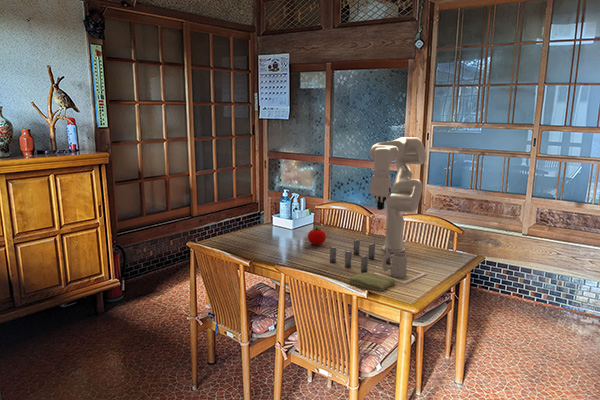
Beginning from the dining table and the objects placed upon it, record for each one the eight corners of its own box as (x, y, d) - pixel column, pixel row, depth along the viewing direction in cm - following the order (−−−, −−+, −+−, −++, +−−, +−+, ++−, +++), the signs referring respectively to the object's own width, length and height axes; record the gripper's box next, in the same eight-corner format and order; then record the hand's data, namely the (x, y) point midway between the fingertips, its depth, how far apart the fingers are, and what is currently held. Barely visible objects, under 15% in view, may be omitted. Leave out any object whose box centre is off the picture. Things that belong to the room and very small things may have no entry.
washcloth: (363, 275, 217) (363, 269, 216) (396, 285, 205) (397, 278, 205) (347, 283, 207) (347, 276, 206) (381, 293, 196) (381, 286, 195)
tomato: (322, 248, 258) (323, 230, 256) (305, 246, 262) (305, 229, 260) (327, 243, 268) (328, 226, 266) (310, 241, 271) (311, 224, 269)
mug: (406, 278, 212) (408, 253, 210) (380, 276, 215) (381, 251, 213) (407, 273, 219) (408, 249, 217) (382, 270, 222) (383, 246, 220)
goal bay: (395, 265, 230) (395, 264, 230) (426, 274, 217) (426, 273, 217) (373, 274, 217) (373, 273, 217) (405, 284, 205) (405, 283, 205)
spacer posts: (355, 252, 250) (356, 238, 248) (391, 263, 234) (392, 247, 232) (328, 262, 235) (328, 246, 233) (364, 273, 218) (365, 257, 217)
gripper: (364, 172, 228) (363, 208, 232) (390, 175, 218) (388, 213, 222) (373, 170, 233) (372, 205, 238) (398, 173, 223) (397, 210, 227)
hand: (380, 209), depth 230 cm, fingers closed
